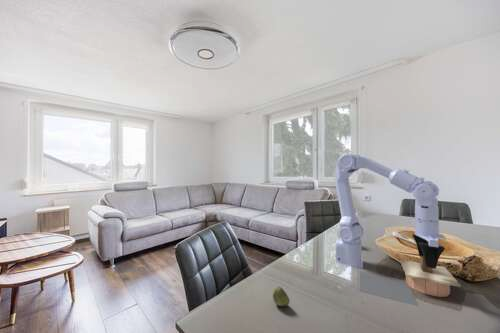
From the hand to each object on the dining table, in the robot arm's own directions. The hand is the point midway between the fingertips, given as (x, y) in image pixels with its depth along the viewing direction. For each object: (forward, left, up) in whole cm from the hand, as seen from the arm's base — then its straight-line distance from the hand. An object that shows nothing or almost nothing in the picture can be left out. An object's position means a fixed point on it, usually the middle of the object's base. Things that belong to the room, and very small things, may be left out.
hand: (427, 262), depth 64 cm
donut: (-26, +30, -8) cm, 41 cm away
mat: (-12, -6, -8) cm, 16 cm away
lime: (-38, -30, -8) cm, 49 cm away
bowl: (0, 0, -8) cm, 8 cm away
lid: (0, 0, -3) cm, 3 cm away
